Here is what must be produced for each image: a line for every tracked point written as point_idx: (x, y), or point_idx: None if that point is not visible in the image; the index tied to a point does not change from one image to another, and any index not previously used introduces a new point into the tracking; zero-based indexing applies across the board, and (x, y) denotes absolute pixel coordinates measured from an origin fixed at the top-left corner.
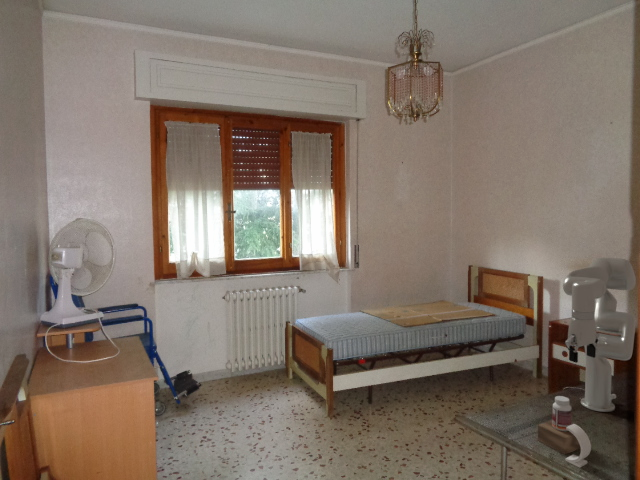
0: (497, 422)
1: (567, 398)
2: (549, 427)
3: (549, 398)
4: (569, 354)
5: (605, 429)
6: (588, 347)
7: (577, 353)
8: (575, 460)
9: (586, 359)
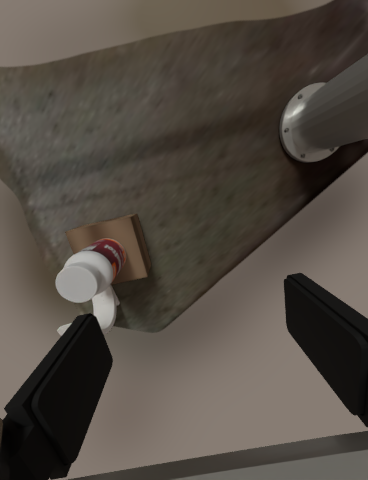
0: (34, 132)
1: (94, 288)
2: (84, 247)
3: (241, 43)
4: (49, 356)
5: (234, 222)
6: (344, 351)
7: (67, 459)
8: (94, 308)
9: None
